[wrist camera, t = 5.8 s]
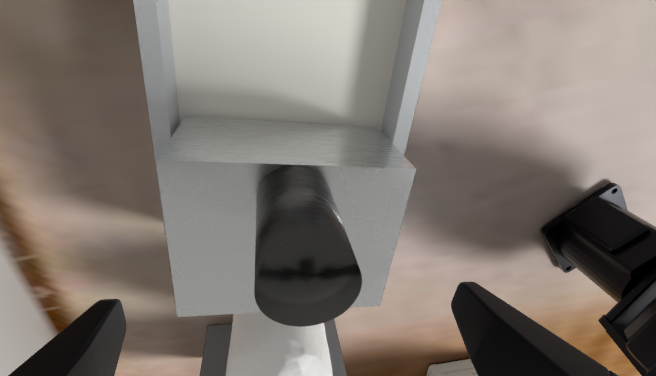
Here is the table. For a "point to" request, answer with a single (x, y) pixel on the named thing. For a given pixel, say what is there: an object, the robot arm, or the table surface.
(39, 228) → the table surface
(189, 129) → the block
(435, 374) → the supplement box
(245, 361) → the white pouch
